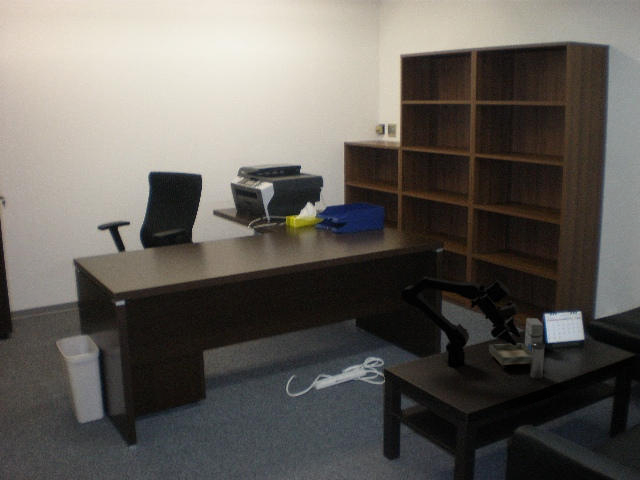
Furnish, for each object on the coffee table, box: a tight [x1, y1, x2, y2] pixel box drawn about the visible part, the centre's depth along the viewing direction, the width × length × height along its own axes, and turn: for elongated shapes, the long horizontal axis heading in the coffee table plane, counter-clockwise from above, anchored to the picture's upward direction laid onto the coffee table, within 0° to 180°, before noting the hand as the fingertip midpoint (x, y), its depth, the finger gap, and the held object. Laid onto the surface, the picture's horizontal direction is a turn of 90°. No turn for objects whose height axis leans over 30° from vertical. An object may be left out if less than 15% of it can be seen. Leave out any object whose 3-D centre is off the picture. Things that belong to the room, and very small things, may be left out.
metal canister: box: [529, 342, 546, 380], centre depth 248 cm, size 5×5×13 cm
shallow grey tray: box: [488, 342, 532, 369], centre depth 262 cm, size 14×14×5 cm
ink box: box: [524, 317, 544, 351], centre depth 277 cm, size 8×5×12 cm, turn 179°
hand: (517, 340), depth 250 cm, fingers open, 9 cm apart
